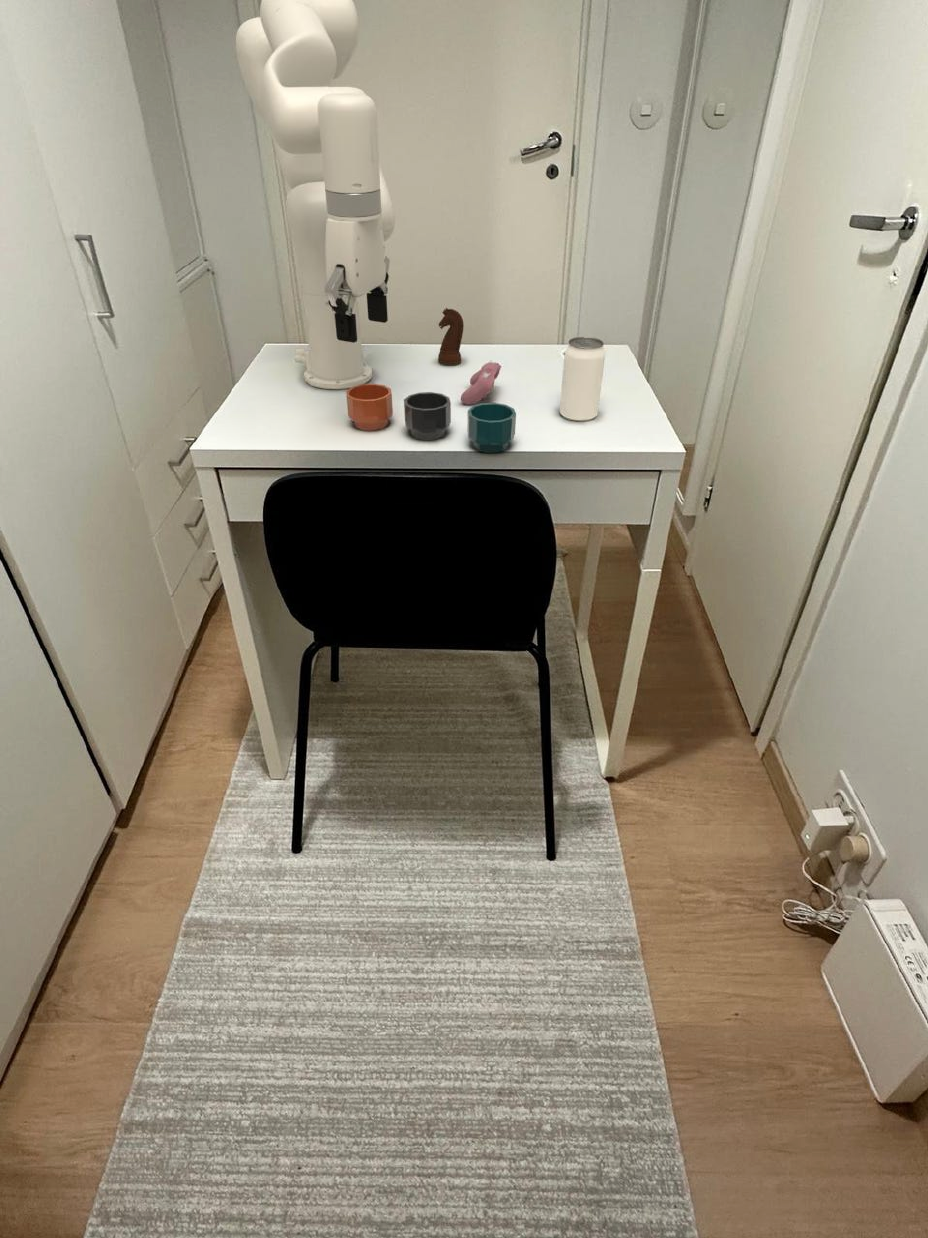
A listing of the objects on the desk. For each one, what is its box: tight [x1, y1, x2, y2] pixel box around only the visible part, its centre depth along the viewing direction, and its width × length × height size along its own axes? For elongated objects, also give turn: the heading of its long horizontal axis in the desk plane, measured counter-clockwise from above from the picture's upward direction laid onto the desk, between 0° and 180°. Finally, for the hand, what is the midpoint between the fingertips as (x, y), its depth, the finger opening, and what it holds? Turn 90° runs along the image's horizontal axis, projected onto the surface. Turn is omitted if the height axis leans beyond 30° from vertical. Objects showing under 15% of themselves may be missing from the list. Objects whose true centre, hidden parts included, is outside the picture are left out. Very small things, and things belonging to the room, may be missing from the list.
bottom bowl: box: [403, 391, 452, 441], centre depth 115 cm, size 7×7×5 cm
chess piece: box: [437, 307, 465, 367], centre depth 140 cm, size 5×5×10 cm
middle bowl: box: [345, 383, 394, 431], centre depth 118 cm, size 7×7×5 cm
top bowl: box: [466, 402, 517, 454], centre depth 112 cm, size 7×7×5 cm
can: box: [559, 336, 606, 422], centre depth 119 cm, size 6×6×12 cm
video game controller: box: [460, 359, 502, 405], centre depth 127 cm, size 10×5×7 cm, turn 168°
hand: (363, 330), depth 111 cm, fingers open, 9 cm apart
